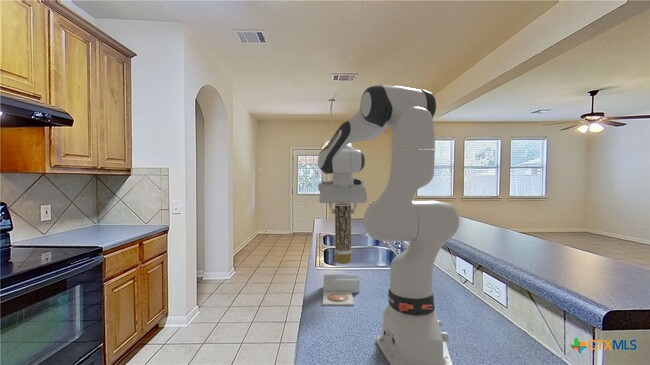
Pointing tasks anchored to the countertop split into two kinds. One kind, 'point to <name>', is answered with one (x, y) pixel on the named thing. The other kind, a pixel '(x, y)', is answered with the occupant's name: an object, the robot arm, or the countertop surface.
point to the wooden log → (343, 233)
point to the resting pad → (338, 298)
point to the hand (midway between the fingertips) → (343, 213)
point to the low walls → (341, 283)
